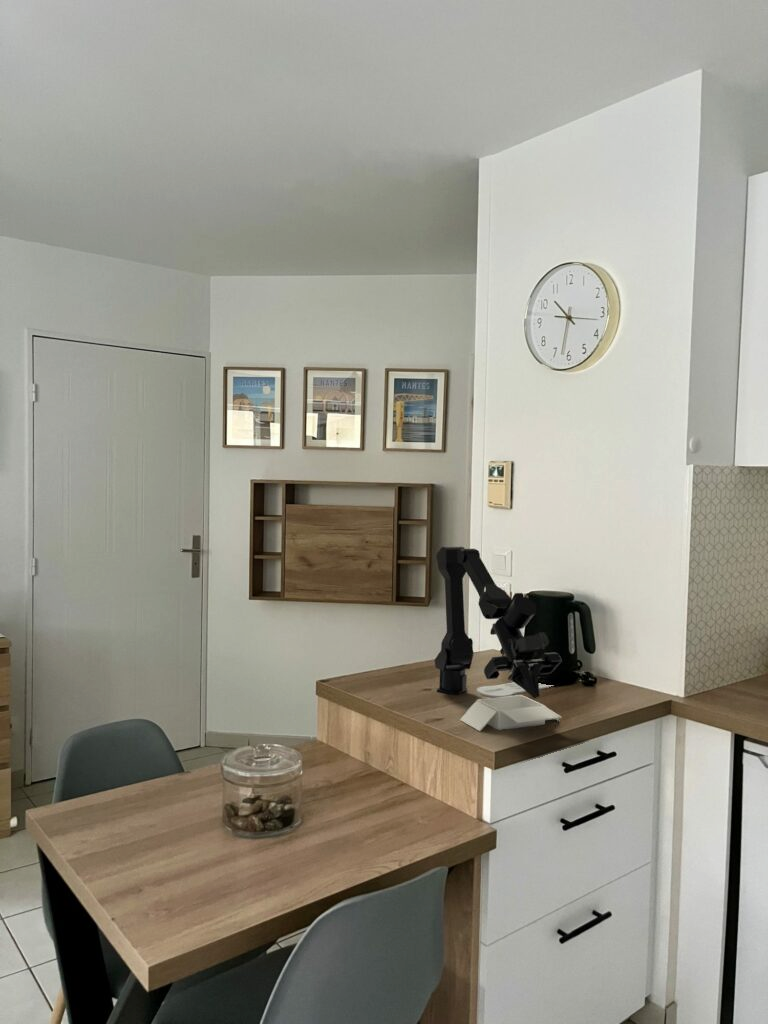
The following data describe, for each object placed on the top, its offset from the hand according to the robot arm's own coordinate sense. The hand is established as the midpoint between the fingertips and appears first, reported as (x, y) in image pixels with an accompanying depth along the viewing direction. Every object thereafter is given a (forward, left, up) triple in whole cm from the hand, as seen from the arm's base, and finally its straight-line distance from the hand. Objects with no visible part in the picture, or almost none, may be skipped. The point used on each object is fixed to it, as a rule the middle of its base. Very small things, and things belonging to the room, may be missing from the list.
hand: (537, 697), depth 178 cm
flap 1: (-14, -2, -6) cm, 15 cm away
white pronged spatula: (-18, +36, -9) cm, 41 cm away
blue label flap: (-1, +1, -4) cm, 5 cm away
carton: (-9, +6, -9) cm, 13 cm away
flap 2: (-3, +13, -6) cm, 15 cm away
